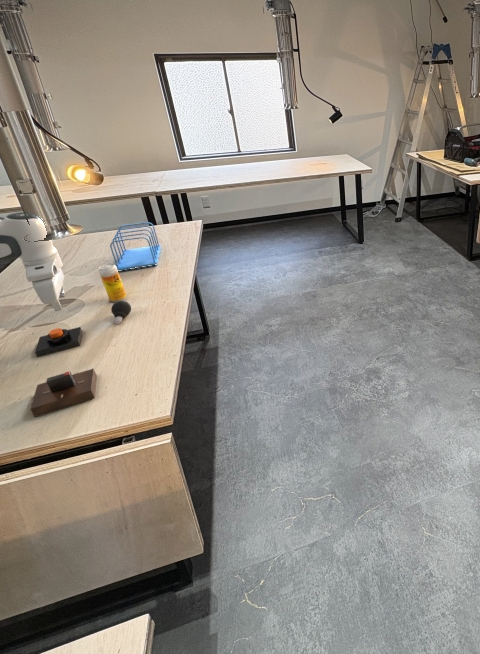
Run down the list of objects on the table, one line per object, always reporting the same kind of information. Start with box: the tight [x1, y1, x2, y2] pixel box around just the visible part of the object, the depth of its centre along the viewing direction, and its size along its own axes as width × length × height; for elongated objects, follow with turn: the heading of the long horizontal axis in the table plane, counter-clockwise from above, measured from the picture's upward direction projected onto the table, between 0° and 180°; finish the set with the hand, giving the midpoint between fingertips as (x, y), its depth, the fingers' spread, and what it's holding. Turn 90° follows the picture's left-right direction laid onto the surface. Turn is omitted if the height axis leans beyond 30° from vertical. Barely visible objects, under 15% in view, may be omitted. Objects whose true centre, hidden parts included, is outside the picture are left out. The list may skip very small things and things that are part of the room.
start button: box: [48, 327, 63, 338], centre depth 140 cm, size 4×4×2 cm
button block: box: [34, 326, 84, 358], centre depth 142 cm, size 12×10×4 cm
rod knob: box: [45, 371, 75, 392], centre depth 117 cm, size 6×2×4 cm, turn 119°
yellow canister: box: [98, 263, 127, 303], centre depth 167 cm, size 6×6×15 cm
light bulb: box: [110, 300, 132, 325], centre depth 155 cm, size 6×6×10 cm
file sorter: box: [109, 221, 162, 273], centre depth 202 cm, size 25×17×15 cm
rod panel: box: [30, 368, 98, 418], centre depth 119 cm, size 14×11×3 cm
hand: (60, 303), depth 132 cm, fingers open, 8 cm apart
